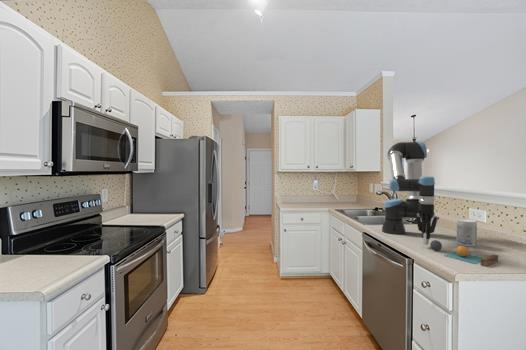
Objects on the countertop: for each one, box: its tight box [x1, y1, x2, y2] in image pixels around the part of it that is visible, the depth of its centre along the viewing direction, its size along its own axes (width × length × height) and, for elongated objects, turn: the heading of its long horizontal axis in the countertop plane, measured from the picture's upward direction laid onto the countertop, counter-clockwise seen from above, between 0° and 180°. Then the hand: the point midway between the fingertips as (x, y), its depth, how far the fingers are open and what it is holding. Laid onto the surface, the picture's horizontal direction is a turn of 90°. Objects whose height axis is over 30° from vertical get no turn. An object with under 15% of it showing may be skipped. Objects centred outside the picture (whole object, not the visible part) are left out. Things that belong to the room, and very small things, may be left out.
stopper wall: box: [480, 254, 499, 267], centre depth 129 cm, size 2×13×3 cm, turn 120°
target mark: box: [443, 251, 485, 265], centre depth 138 cm, size 14×14×1 cm
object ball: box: [455, 245, 470, 257], centre depth 139 cm, size 6×6×6 cm
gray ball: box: [429, 239, 443, 251], centre depth 150 cm, size 6×6×6 cm
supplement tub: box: [456, 218, 478, 248], centre depth 160 cm, size 10×10×15 cm
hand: (425, 244), depth 156 cm, fingers closed
